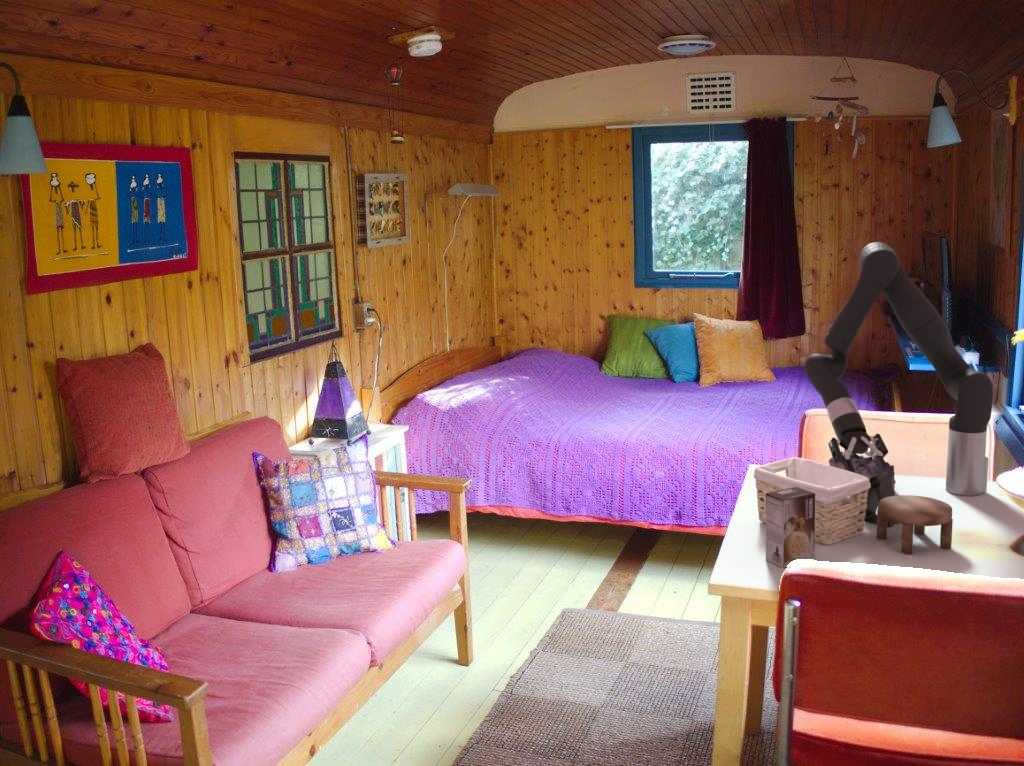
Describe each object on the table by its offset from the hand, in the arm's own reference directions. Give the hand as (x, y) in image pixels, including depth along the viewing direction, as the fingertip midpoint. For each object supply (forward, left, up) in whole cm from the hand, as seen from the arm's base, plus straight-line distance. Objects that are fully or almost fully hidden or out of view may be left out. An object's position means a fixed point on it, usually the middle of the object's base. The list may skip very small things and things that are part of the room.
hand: (868, 473), depth 248 cm
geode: (-12, -22, -11) cm, 27 cm away
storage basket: (+18, +5, -11) cm, 22 cm away
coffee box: (+33, +22, -11) cm, 41 cm away
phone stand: (0, +5, -11) cm, 12 cm away
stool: (+1, +21, -11) cm, 24 cm away
